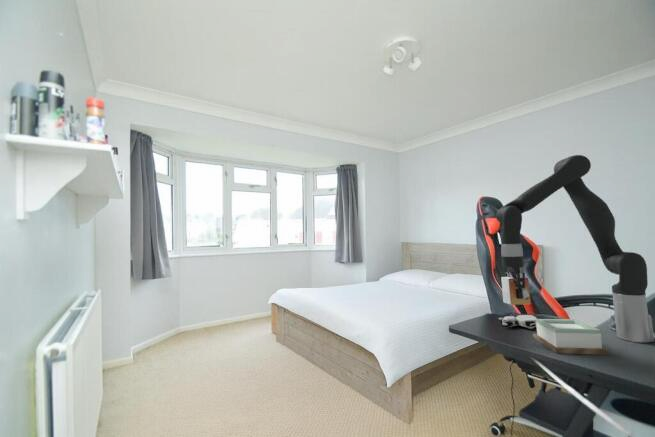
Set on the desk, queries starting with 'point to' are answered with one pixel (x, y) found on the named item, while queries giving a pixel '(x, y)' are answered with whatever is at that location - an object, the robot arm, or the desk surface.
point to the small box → (514, 291)
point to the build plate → (571, 350)
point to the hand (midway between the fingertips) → (516, 296)
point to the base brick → (568, 333)
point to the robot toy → (519, 321)
